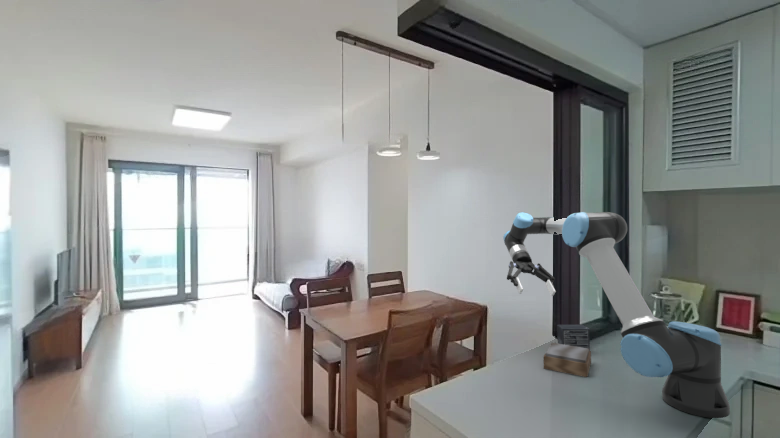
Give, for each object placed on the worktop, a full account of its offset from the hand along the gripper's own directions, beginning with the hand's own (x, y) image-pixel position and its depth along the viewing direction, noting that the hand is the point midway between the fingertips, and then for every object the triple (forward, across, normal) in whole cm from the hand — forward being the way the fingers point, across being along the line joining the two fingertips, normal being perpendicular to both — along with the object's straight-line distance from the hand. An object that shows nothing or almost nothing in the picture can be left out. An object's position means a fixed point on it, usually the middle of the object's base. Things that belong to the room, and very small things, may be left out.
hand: (537, 292), depth 146 cm
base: (+24, -8, -13) cm, 28 cm away
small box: (+13, -18, -19) cm, 29 cm away
